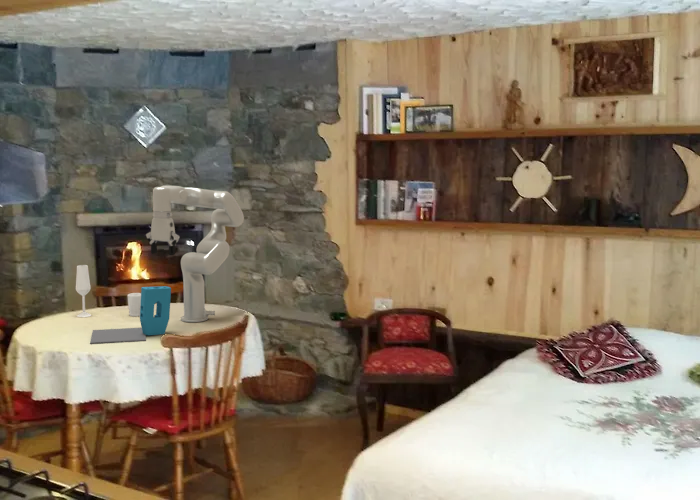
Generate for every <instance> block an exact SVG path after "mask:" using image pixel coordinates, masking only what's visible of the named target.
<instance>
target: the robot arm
mask: <svg viewBox="0 0 700 500" xmlns="http://www.w3.org/2000/svg"><path fill="white" fill-rule="evenodd" d="M172 204H178V205H183V206H187V207H188V206H189V207H196V208H197V207H199V208H206V209H214V210H213V212H212V213H211V217H210V218H211V229H210V231H209V232H208V233H207V235H206V236H205V237H203V238H202V240H201V241H200V242H199V243H198V244H197V246H196V252H195V251H193V252H192V251H191V252H190V251H189V252H187V253H185V254H183V255H182V256H181V259H180V268H181V272H182V280H183V283H182V285H183V315H182V316H181V317H180V321H182V322H184V323H201V322H206V321H208V319H209V316H216V312H215V310H207V309H206V308H205V305H206V303H205V301H206V299H205V280H204V276H203V275H207V276H209V275H212V274H213V273H215V272H216V271H217V270H218V269H219V268H220V266H222V264H223V263H224V262H225V261H226V259H228V257H229V254H230V248H231V247H230V245H229V243H228V242H227V241H226V240H227V232H226V227H230V228H231V227H234V228H238V227H240V226H242V224H243V223H244V219H245V218H244V217H245V216H244V213H243V210H242V209H241V207H240V205H239V203H238V202H237V200H236V198H235V197H234V196H233V194H231V193H230V192H229V191H226V190H224V191H223V190H212V189H206V188H204V189H203V188H199V187H183V186H180V185H179V186H178V185H166V184H165V185H162V186H155V187H153V190H152V209H153V213H152V216H153V218H152V219H151V226H150V231H149V232H147V233H146V234H145V236H146V239H147V242H148V243H149V245H150V251H151V252H150V253H151V254H152V255H153V254H158V245H157V242H167V243H168V244H169V246H168V254H169V256H174V255H175V253H176V250H175V249H176V246H177V244H178V242H179V240H180V235H179V234H177V233H176V230H175V229H176V227H175V223H174V222H175V221H174V219H173V218H172V217H173V215H174V214H173V213H172Z"/></svg>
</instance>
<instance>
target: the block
mask: <svg viewBox="0 0 700 500" xmlns="http://www.w3.org/2000/svg"><path fill="white" fill-rule="evenodd" d="M140 289H141V291H140V293H141V305H140V316H139V320H140V321H139V322H140V326H141V327H140V328H142V332H143V334H145V335H146V336H157V335H165V334H166V331H167V328H168V325H169V321H170V314H171V297H172V295H171V294H172V288H171V287H170V286H168V285H164V286H163V285H160V286H159V285H157V286H142V287H141V288H140ZM155 305H156V307H155ZM155 308H156V309H155Z"/></svg>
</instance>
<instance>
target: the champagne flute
mask: <svg viewBox="0 0 700 500" xmlns="http://www.w3.org/2000/svg"><path fill="white" fill-rule="evenodd" d="M75 277H76V278H75V291H76V292H77V293H78V294H79V295H80V296H82V298H81V299H82V300H81V301H82V302H81V303H82V305H81V306H82V312H80V313H79V314H77V315H76V317H77V318H87V317H91V316H92V314H91V313H90V312H88V311H86V295H87V294H89V292H90V291H91V288H92V287H91V281H90V279H91V278H90V272H89V266H88V265H87V264H79V265H76V276H75Z"/></svg>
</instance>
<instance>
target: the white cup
mask: <svg viewBox="0 0 700 500" xmlns="http://www.w3.org/2000/svg"><path fill="white" fill-rule="evenodd" d="M127 304H128V314H129V316H130V317H140V305H141V292H132V293H128V294H127Z"/></svg>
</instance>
